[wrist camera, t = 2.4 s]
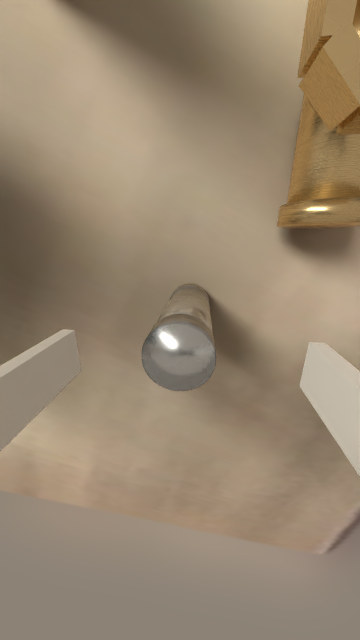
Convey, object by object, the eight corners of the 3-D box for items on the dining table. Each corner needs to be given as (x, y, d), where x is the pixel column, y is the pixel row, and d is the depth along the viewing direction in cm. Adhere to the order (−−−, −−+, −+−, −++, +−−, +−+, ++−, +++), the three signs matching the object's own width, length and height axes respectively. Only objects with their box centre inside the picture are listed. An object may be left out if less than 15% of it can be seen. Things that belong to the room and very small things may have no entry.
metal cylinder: (171, 320, 24) (142, 389, 12) (170, 283, 22) (138, 323, 11) (208, 321, 23) (214, 394, 12) (210, 283, 22) (218, 326, 11)
